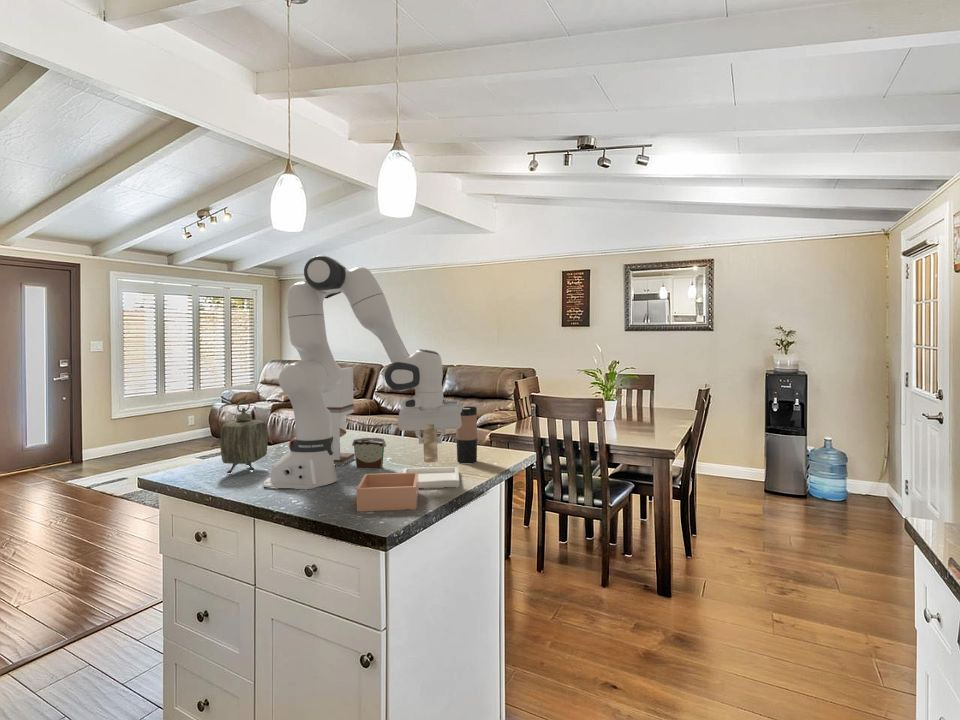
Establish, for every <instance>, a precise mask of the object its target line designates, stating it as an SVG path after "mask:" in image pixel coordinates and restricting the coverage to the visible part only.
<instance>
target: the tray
mask: <svg viewBox="0 0 960 720" xmlns="http://www.w3.org/2000/svg"><path fill="white" fill-rule="evenodd" d="M402 473H418V480H419V488H424V489H445V488H444V487H456V488H460V476H459V475H460V474H459V467H458V466H437V467H435V466H433V467H429V466H428V467H404V468H403V470H402Z"/></svg>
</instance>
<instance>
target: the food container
mask: <svg viewBox="0 0 960 720" xmlns="http://www.w3.org/2000/svg"><path fill="white" fill-rule="evenodd" d="M351 446H352V447H353V449H354V453H355V459H354V460H355V467H356V469H358V468H368V469H367V470H379V469H381V470H383V465H384V453H385V448H386V447H387V444H386V440H385V439H384V438H381V437H380V438H379V437H362V438H356V439H353V441H352V444H351Z"/></svg>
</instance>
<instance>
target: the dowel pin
mask: <svg viewBox="0 0 960 720" xmlns="http://www.w3.org/2000/svg"><path fill="white" fill-rule="evenodd" d="M422 435H423V437H422V438H423V439H424V441H423V442H424V444H423V462H424V463H436V462H438V461H439V457H438V450H439V449H438V444H437V437H438V430H435V429H434V424H430V425H426V429H425V430H422Z"/></svg>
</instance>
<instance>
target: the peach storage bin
mask: <svg viewBox="0 0 960 720" xmlns="http://www.w3.org/2000/svg"><path fill="white" fill-rule="evenodd" d="M419 493H420V492H419V480H418V473H403V472H390V473H389V472H385V473H365V474H364V475H363V477H362V478H361V481H360V482H359V484H358V485H357V487H356V512H373V511H375V512H377V511H378V512H379V511H380V510H381V511H404V510H405V509H410V510H417V507H418V501H419ZM405 511H406V510H405Z"/></svg>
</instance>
